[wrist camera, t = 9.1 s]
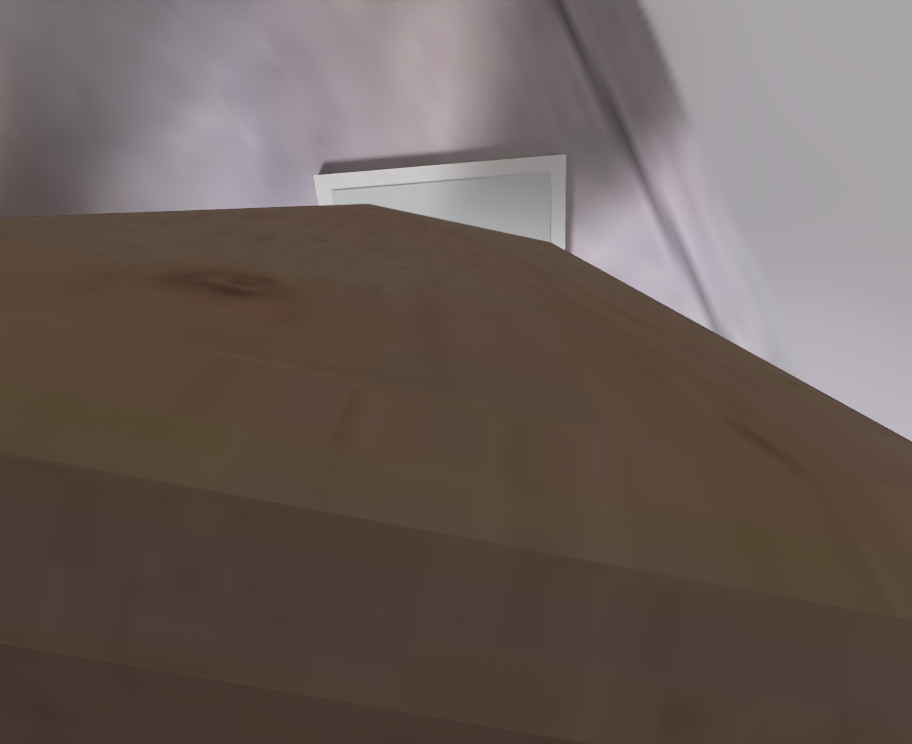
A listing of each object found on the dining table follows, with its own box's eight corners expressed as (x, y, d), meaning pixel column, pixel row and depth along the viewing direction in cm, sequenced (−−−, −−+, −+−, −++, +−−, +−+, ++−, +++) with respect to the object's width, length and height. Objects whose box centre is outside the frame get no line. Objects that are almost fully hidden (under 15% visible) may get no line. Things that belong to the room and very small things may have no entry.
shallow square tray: (355, 398, 35) (352, 402, 34) (317, 175, 29) (312, 175, 28) (561, 386, 34) (563, 391, 33) (563, 155, 28) (566, 153, 28)
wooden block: (351, 198, 20) (-1372, 186, 1) (568, 244, 20) (1614, 741, 2) (330, 397, 24) (-211, 1149, 5) (515, 434, 24) (660, 1259, 5)
